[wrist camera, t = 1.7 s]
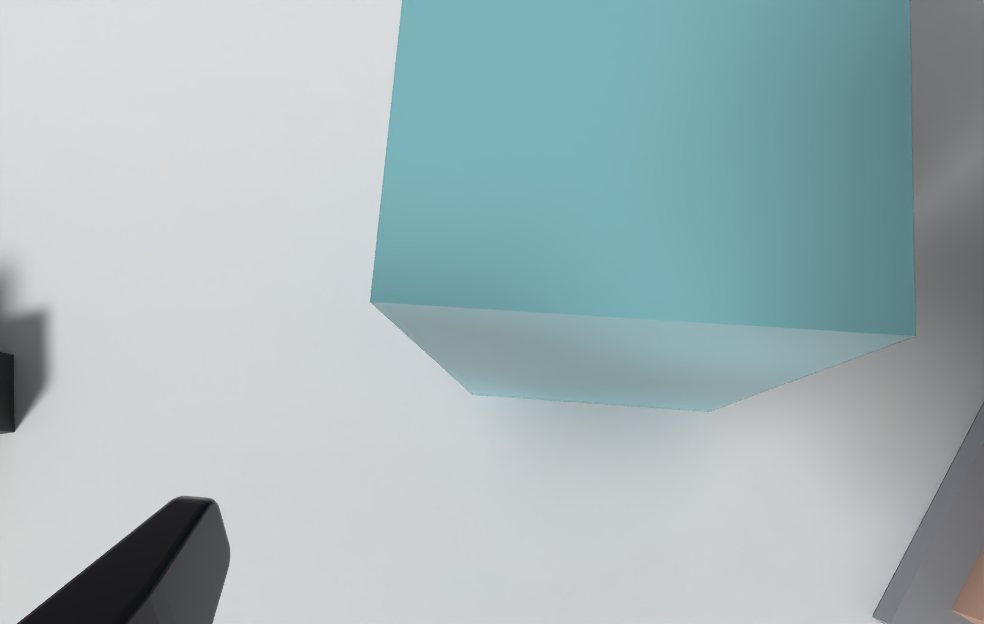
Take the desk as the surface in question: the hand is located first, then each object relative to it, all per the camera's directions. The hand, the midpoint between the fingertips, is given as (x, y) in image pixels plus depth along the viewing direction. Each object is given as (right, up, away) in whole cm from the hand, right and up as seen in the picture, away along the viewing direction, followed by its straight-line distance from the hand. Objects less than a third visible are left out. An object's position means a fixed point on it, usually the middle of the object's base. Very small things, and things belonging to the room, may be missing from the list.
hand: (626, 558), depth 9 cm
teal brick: (+1, +3, +13) cm, 13 cm away
